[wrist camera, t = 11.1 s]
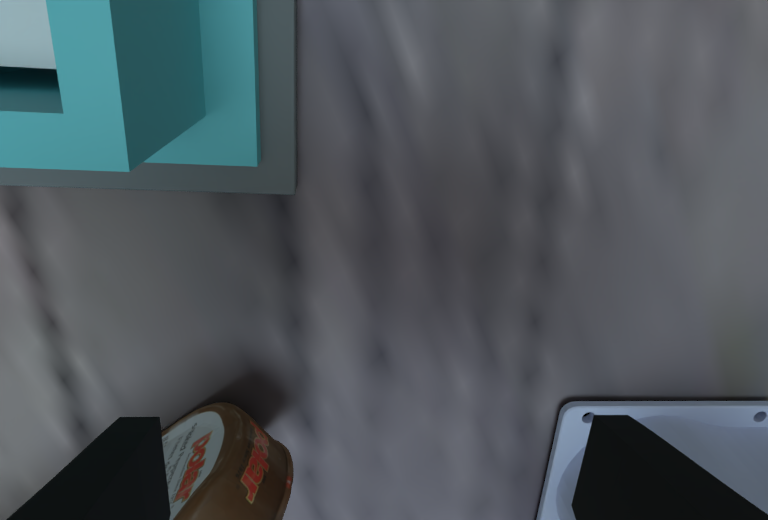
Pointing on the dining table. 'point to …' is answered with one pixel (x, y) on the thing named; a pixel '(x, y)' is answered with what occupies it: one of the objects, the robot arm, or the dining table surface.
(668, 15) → the dining table surface
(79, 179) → the post block
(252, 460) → the tin
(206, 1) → the flange
